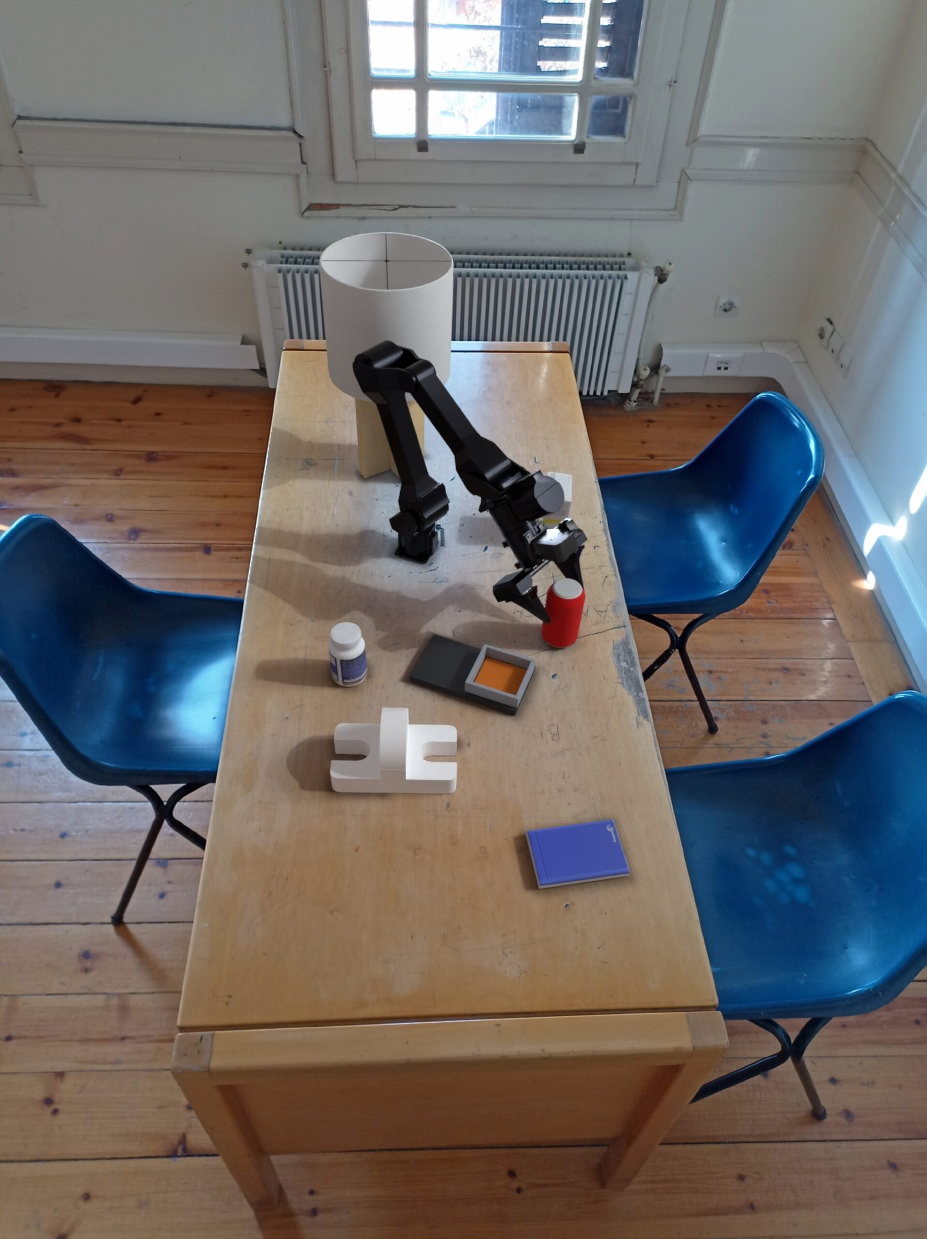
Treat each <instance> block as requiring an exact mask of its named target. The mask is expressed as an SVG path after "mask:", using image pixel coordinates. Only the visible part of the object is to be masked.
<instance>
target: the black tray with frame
mask: <svg viewBox="0 0 927 1239" xmlns="http://www.w3.org/2000/svg"><path fill="white" fill-rule="evenodd" d="M535 671H536V659H535V658H531V657H528V656H526V655H521V654H518V653H516V652H513V651H510V650H509V651H508V650H505V649H502V648H500V647H497V646H493V645H489V644H486V643H484V644H483V646H482V647H481V648H479V647H477V646H473V645H470V644H468V643H467V644H466V643H463V642H459V641H457V640H453V639H451V638H448V637H445V636H441V635H438V634H434V633H433V634H432V635H431V638H430V639H429V642H427V645H426V646H425V649H424V650H423V652H422V654H421V656H420V657H419V659H418V661H417V663H416V664H415V666H414V668H413V670H412V671H411V673H410V675H409V682H412V683H414V684H417V685H421V686H424V687H426V688H431V689H433V690H436V691H438V692H441V693H445V694H448V695H450V696H454V697H457V698H461V699H464V700H466V701H470V702H473V703H475V704H479V705H482V706H485V707H488V708H491V709H494V710H497V711H499V712H503V713H505V714H506V713H507V714H508V715H512V716H516V715H517V713H518V711H519V709H520V706H521V704H522V701H523V699H524V698H525V694H526V692H527V690H528V688H529V685H530V683H531V681H532V678H533V676H534V674H535Z"/></svg>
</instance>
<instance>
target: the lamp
mask: <svg viewBox="0 0 927 1239" xmlns="http://www.w3.org/2000/svg"><path fill="white" fill-rule="evenodd" d="M318 265H319V275H320V276H319V277H320V278H319V279H320V288H321V290H320V291H321V301H322V312H323V313H322V314H323V323H324V324H323V325H324V335H325V337H324V338H325V347H326V348H325V349H326V356H327V357H326V358H327V371H328V375H329V379H330V381H331V383H332V384H333V385H334V386H335V387H336V388H337V389H339V391H340V392H342V393H344V394H346V395H347V396H350V397H352V398H354V403H355V404H354V407H355V419H356V437H357V454H358V471H359V474H360V475H361V476H362V477H363V478H364V479H367V478H370V477H372V476H376V475H379V474H381V473H384V472H387V471H389V470H390V471H391V472H392V473H394V474H395V475H396V476H397V478H398V479H400V477H399V474H398V471H397V468H396V465H395V462H394V458H393V455H392V452H391V449H390V446H389V443H388V440H387V437H386V434H385V431H384V427H383V424H382V421H381V418H380V415H379V412H378V409H377V406H376V404H375V403H374V402H373V401H372V400H371V399H369V398H368V397H367V396H366V395H365V394H364V393H363V392H362V390H361V388H360V386H359V384H358V381H357V379H356V377H355V375H354V372H353V367H352V363H353V362H354V359H355V357H356V356H357V355H358V354H360V353H362V352H363V351H365V350H367V349H369V348H371V347H373V346H375V345H377V344H379V343H381V342H383V341H386V340H388V341H392V342H393V343H395V344H396V345H399V346H402V347H406V348H409V349H412V350H413V351H414V352H415V353H416V354H417V356H418V357H419V358H422V359H425V360H428V361H430V362H431V363H432V364H433V366H434V367H435V370H436V375H437V377H438V378H439V379H440V381H441V382H442V384H443V385H444V386H445V385H446V384H447V383H448V380H449V378H450V375H451V363H452V362H451V360H452V358H451V357H452V330H453V329H452V328H453V327H452V324H453V297H454V296H453V295H454V294H453V292H454V290H453V289H454V259H453V256H452V254H451V253H450V251H448V250H447V249H446V248H445V247H444V246H443V245H442V244H439V243H437V242H435V241H433V240H431V239H428V238H425V237H422V236H419V235H415V234H409V233H402V232H389V231H388V232H385V231H381V232H367V233H360V234H355V235H351V236H348V237H347V236H346V237H344V238H341V239H339V240H337V241H335V242H333V243H331V244H330V245H328V246H327V247H326V248H325V249H324V250H323V251H322V252H321V254H320V257H319V260H318ZM405 397H406V401H407V404H408V407H409V411H410V414H411V417H412V421H413V424H414V427H415V431H416V434H417V437H418V441H419V444H420V447H421V450H422V454H423V457H425V413H424V412H423V411H422V409H421V408H420V406H419V405H418V404H417V402H416V401H415V400H414V398H413V397H412V395H411V394H410V393H407V392H406V393H405Z"/></svg>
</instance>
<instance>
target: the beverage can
mask: <svg viewBox="0 0 927 1239" xmlns="http://www.w3.org/2000/svg"><path fill="white" fill-rule="evenodd" d="M584 591H585V588H584V589H583V588H582V586H581V585H580V583H578V582H577V581H575V580H573V579H569V578H565V577H562V578H559V579H558V578H557V579H556V580H555V581H554V582H553V583H552V584H550V586H549V587H548V588H547V591H546V598H545V604H544V608H545V609H546V611H547V613H548V615H549V617H550V619H551V623H549V624H546V623H544V622H543V621H542V622H541V629H540V630H541V631H540V633H541V637H542V639H543V640H544V642H545V643H546V644H547V645H549V646H551V647H553V648H556V649H566V648H569V647H571V646H573V645H574V644H575V643H576V641H577V640H578V637H579V634H580V633H579V632H580V629H581V628H580V627H581V621H582V617H583V612H584V608H585V601H586V592H584Z"/></svg>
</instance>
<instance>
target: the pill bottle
mask: <svg viewBox="0 0 927 1239" xmlns="http://www.w3.org/2000/svg"><path fill="white" fill-rule="evenodd" d="M329 636H330V639H329V642H328V656H329V665H330V673H331V677H332V680H333V681H334V682H335V683H336V684H337V685H339V686H341V687H346V688H347V687H349V688H350V687H355V686H358V685H360V684H361V683H362V682H364V681H365V679H366V678H367V674H368V665H367V652H366V641H365V640H364V638H363V637H362V631H361V628H360V627H359V625H357V624H355V623H354V622H349V621H344V622H339V623H337V624H335V625H334V626H333V627H332V629H330V633H329Z"/></svg>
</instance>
